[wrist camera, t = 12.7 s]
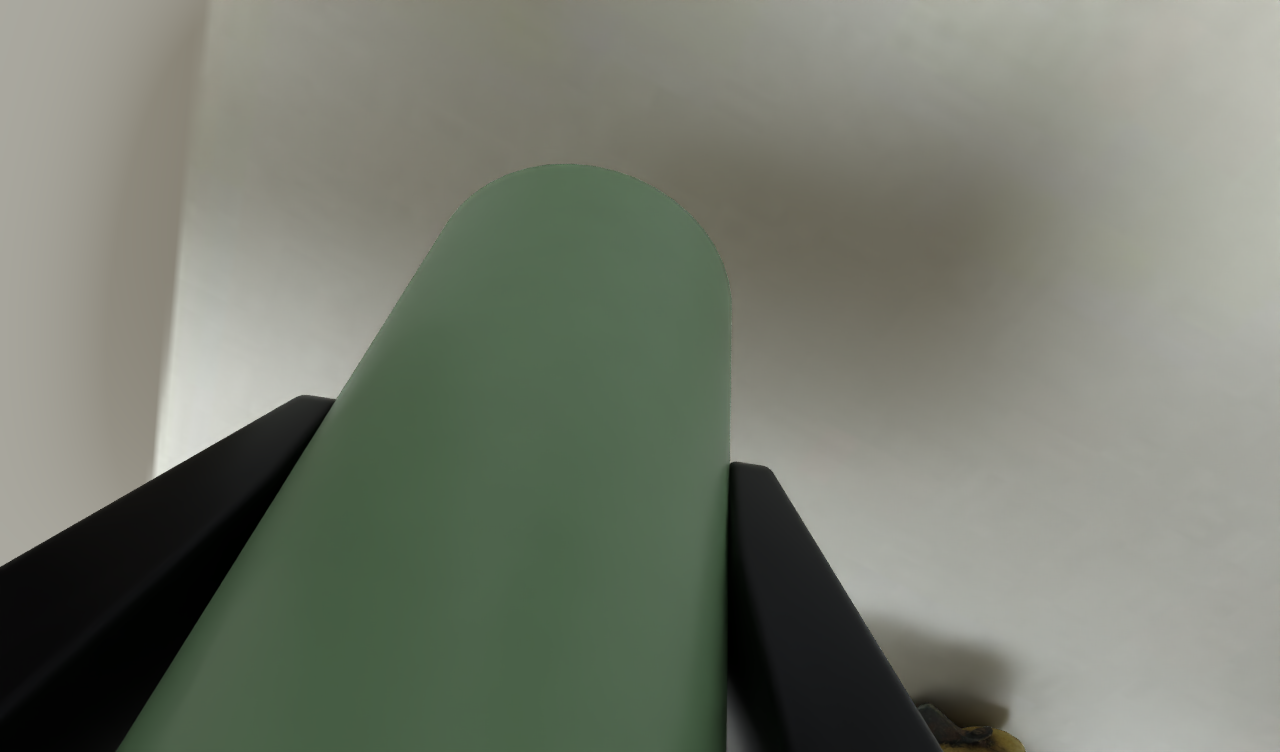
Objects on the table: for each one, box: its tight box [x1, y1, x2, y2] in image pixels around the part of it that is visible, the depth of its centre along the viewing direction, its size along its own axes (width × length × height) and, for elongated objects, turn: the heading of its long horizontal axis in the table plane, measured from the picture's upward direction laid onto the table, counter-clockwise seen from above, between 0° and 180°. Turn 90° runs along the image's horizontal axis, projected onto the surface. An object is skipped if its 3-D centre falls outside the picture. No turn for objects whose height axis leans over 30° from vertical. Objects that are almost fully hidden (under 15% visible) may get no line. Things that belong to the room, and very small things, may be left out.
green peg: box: [116, 164, 732, 752], centre depth 7 cm, size 4×4×10 cm
